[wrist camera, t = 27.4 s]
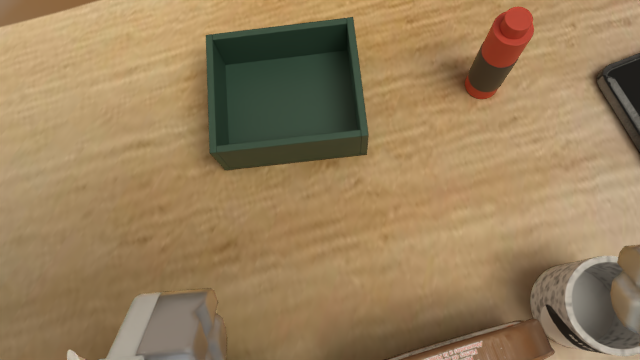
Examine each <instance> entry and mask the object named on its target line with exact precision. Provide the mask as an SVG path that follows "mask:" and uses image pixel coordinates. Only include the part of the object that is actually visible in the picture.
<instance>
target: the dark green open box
mask: <svg viewBox="0 0 640 360" xmlns="http://www.w3.org/2000/svg"><path fill="white" fill-rule="evenodd" d="M206 56H207V86H208V117H209V147H210V154H211V155H212V156H213V157H214V158H215V159H216V161H217V162H218V163H219V164H220V165H221V166H222V167H223V168H224V169H225V170H232V169H241V168H250V167H259V166H268V165H277V164H286V163H295V162H304V161H313V160H322V159H331V158H340V157H349V156H358V155H366V154H367V146H368V127H367V120H366V112H365V104H364V97H363V89H362V81H361V74H360V66H359V58H358V51H357V43H356V35H355V28H354V20H353V17H350V18H342V19H334V20H326V21H317V22H309V23H301V24H293V25H285V26H277V27H268V28H260V29H252V30H244V31H236V32H228V33H219V34H213V35H212V34H211V35H206Z"/></svg>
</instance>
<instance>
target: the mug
mask: <svg viewBox="0 0 640 360" xmlns="http://www.w3.org/2000/svg"><path fill="white" fill-rule="evenodd" d="M617 261H618V257H615V256H600V257H595V258H590V259H585V260H581V261H576V262H572V263H567V264H563V265H558V266H555V267H552V268H550V269H548V270H546V271H545V272H544V273H542V274H541V275H540V276H539V277H538V279H537V280H536V282H535V283H534V286H533V288H532V291H531V298H530V305H531V311H532V315H533V317H534V319H537V320H539V322H540V323H541V325H542V327H543V330H544V332H545V334H546V336H548V337H549V338H550V339H551V340H553V341H554V342H556V343H558V344H560V345H563V346H565V347H570V348H575V349H581V350H587V351H593V352H598V353H604V354H610V355H616V356H632V355H637V354H640V347H639V340H640V335H638V334H636V333H634V332H632V331H631V330H629V329H627V328H625V327H624V326H623V324H622V323H621V321H620V320H619V319H618V317H617V315H616V313H615V311H614V309H613V307H612V301H611V295H610V291H611V286H612V281H613V279H614V278H615V277H616V276H617V275H618V274H620V273H621V272H622V271H623V270H622V269H621V267H620V266H619V265H618V263H617Z"/></svg>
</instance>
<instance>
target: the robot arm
mask: <svg viewBox="0 0 640 360" xmlns="http://www.w3.org/2000/svg"><path fill="white" fill-rule="evenodd" d="M617 263H618V265H619V266H620V267H621V269H622V270H623V271H622V272H621V273H620V274H618V275H617V276H616V277H615V278H614V279H613V281H612V286H611V291H610V295H611V301H612V307H613V309H614V311H615V313H616V315H617V317H618V319H619V320H620V321H621V323H622V324H623V326H624V327H625V328H627V329H629V330H631V331H632V332H634V333H636V334H638V335H640V245H631V246H625V247H624V248H623V249H622V250H621V251H620V253H619V257H618V261H617ZM217 306H218V300H217V297H216V294H215V291H214V290H213V289H211V288H204V289H191V290H178V291H166V292H159V293H146V294H139V295H138V296H136V297H135V298H134V299H133V301H132V303H131V306H130V308H129V310H128V312H127V314H126V316H125V319H124V321H123V323H122V325H121V327H120V329H119V331H118V334H117V336H116V338H115V340H114V342H113V344H112V346H111V349H110V351H109V353H108V355H107V357H106V359H98V360H226V355H227V334H226V327H225V323H224V320H223V318H222V317H221V316H219V315H218V314H217V313H216V310H217ZM639 347H640V340H639Z"/></svg>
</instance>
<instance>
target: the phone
mask: <svg viewBox="0 0 640 360" xmlns="http://www.w3.org/2000/svg"><path fill="white" fill-rule="evenodd" d="M597 83H598V85H599V87H600V89H601V90H602V92H603V93H604V95H605V97H606V98H607V100H608V102H609V103H610V105H611V106H612V108H613V110H614V111H615V113H616V114H617V116H618V118H619V119H620V121H621V123H622V124H623V126H624V127H625V129H626V131H627V132H628V134H629V136H630V137H631V139H632V140H633V142H634V144H635V145H636V147H637V148H638V150H639V152H640V53H638V54H636V55H633V56H631V57H628V58H626V59H623V60H620V61H618V62H615V63H613V64H610V65H608V66H607V67H605V68H604V69H603V70H602V71H601V72H600V73H599V75H598V77H597Z"/></svg>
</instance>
